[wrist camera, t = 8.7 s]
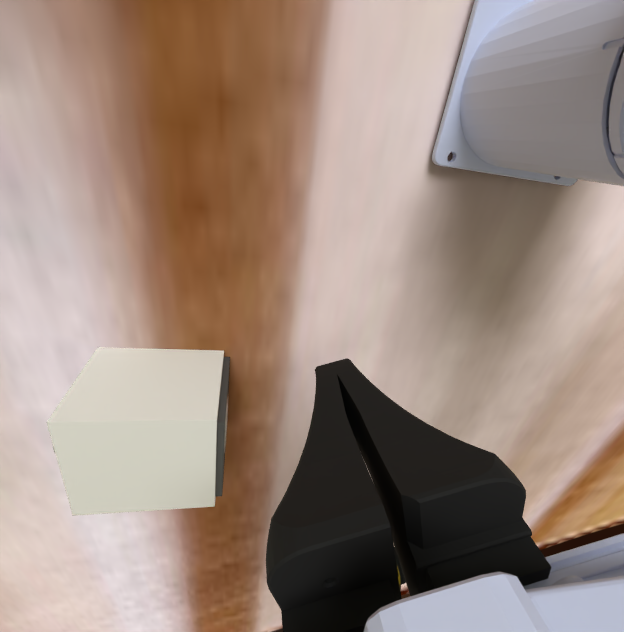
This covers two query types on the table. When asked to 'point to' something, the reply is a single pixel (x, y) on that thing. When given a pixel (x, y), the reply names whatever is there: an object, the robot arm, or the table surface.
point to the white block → (143, 430)
